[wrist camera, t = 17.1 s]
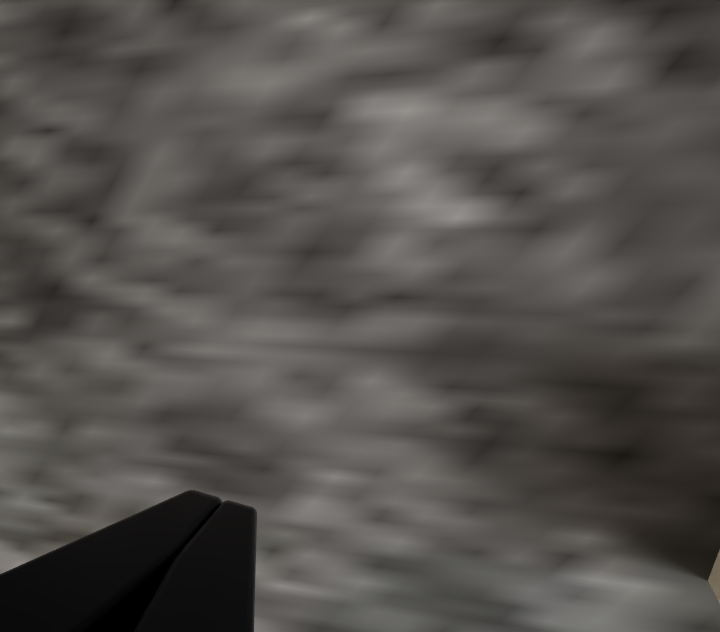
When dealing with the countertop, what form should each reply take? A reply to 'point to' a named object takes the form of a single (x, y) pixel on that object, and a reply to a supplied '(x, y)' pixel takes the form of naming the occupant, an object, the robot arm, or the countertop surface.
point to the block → (715, 577)
